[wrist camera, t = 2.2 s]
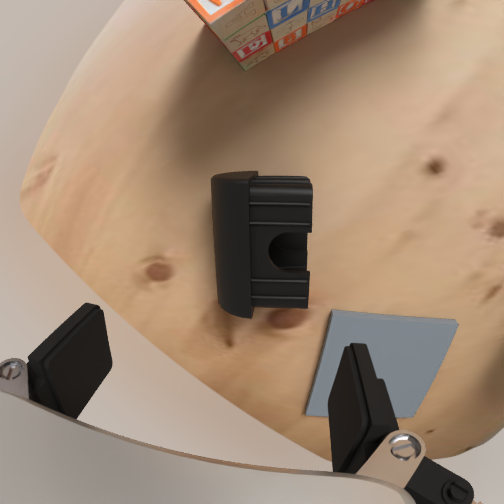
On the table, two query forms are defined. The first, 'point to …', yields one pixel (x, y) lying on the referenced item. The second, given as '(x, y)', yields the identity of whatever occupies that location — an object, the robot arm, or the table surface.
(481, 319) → the table surface
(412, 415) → the slate mat
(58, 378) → the robot arm
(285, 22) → the stack of blocks
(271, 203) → the end cap
